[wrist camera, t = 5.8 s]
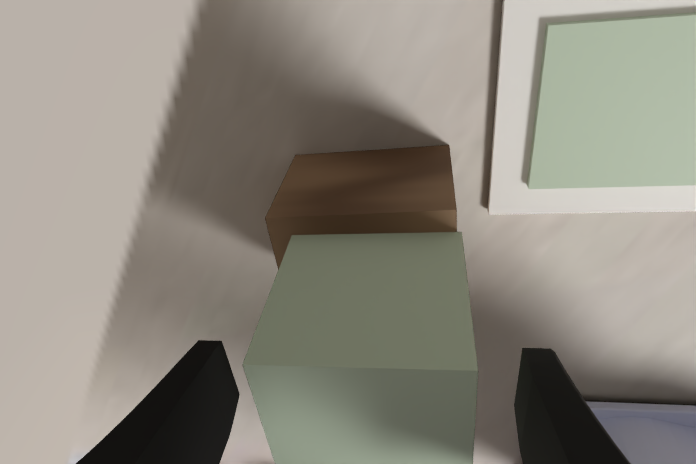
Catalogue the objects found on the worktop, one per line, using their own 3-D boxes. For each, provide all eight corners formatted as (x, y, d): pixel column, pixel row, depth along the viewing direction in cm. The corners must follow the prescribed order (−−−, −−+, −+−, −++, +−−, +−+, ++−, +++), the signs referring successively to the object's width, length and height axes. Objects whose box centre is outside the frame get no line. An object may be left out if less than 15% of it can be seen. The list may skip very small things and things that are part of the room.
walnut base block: (449, 143, 16) (456, 209, 12) (450, 268, 18) (457, 349, 15) (296, 153, 16) (265, 218, 13) (319, 271, 19) (298, 348, 16)
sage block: (461, 232, 13) (478, 370, 9) (458, 353, 15) (470, 501, 11) (291, 235, 13) (242, 365, 10) (315, 350, 16) (283, 488, 12)
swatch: (811, -49, 12) (829, -46, 11) (716, 205, 16) (726, 216, 15) (504, -22, 13) (507, -19, 12) (487, 210, 17) (489, 219, 16)
